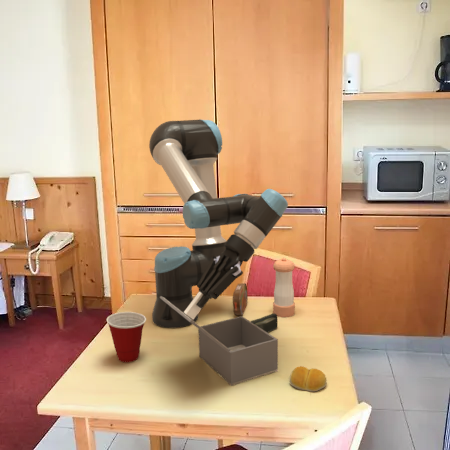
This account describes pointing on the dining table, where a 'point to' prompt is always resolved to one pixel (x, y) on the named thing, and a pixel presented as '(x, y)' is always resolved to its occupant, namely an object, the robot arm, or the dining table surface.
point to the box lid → (194, 324)
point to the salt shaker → (284, 289)
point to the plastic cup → (126, 334)
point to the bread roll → (307, 379)
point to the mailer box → (239, 350)
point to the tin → (240, 299)
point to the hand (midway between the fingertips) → (188, 315)
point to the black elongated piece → (267, 322)
